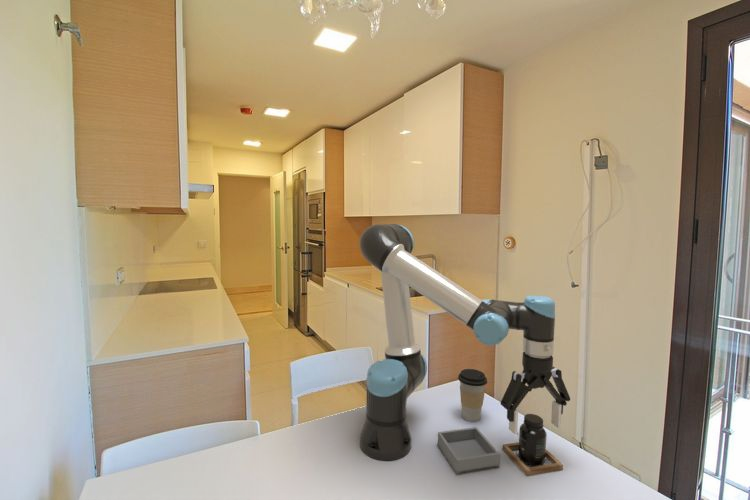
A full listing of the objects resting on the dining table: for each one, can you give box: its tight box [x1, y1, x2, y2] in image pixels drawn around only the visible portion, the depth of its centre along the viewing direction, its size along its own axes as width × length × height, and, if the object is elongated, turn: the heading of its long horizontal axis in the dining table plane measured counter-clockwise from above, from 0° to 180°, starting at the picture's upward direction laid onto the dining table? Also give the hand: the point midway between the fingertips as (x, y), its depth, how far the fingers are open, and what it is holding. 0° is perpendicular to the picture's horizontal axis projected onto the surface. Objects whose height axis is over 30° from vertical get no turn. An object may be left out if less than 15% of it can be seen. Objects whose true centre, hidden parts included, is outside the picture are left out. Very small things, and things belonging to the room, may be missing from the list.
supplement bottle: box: [517, 413, 548, 467], centre depth 98 cm, size 7×7×12 cm
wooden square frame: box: [501, 441, 564, 477], centre depth 99 cm, size 11×11×2 cm
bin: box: [437, 426, 501, 476], centre depth 99 cm, size 12×12×4 cm
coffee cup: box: [457, 368, 488, 422], centre depth 119 cm, size 9×9×15 cm
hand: (534, 428), depth 98 cm, fingers open, 13 cm apart
